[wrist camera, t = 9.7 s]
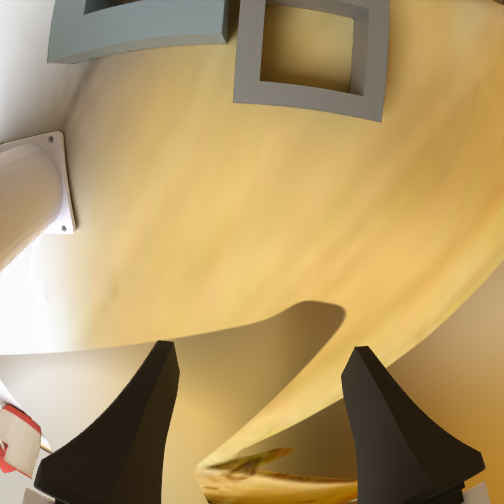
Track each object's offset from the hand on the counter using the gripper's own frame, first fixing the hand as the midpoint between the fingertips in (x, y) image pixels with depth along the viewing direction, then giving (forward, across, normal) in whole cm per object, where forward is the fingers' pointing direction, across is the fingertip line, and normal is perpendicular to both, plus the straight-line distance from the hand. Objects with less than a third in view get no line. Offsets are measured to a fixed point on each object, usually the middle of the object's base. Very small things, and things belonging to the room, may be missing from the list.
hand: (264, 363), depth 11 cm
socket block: (+10, +8, -18) cm, 22 cm away
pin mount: (+10, -2, -13) cm, 17 cm away
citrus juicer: (+11, +58, +55) cm, 81 cm away
